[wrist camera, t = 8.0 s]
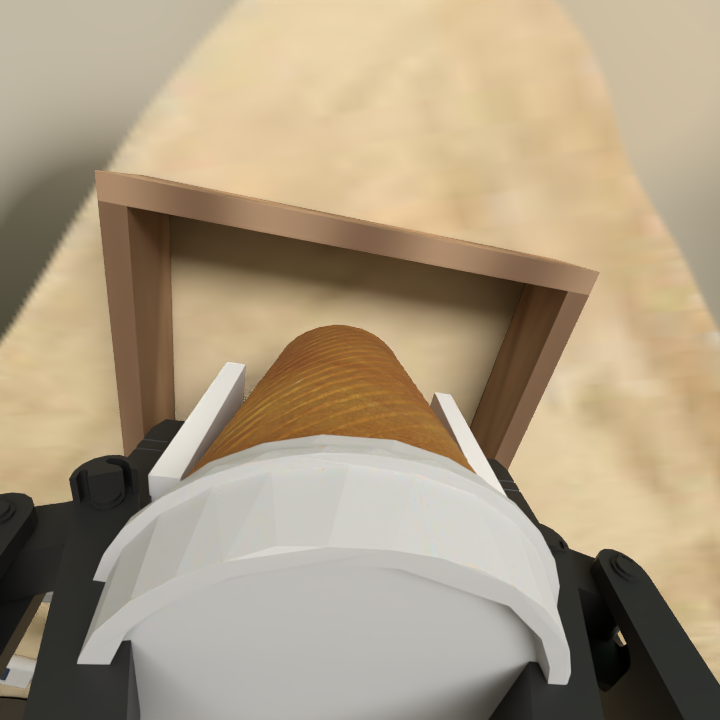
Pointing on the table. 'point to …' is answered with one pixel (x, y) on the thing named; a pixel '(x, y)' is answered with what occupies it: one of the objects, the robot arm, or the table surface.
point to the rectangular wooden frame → (162, 197)
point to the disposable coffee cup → (330, 561)
